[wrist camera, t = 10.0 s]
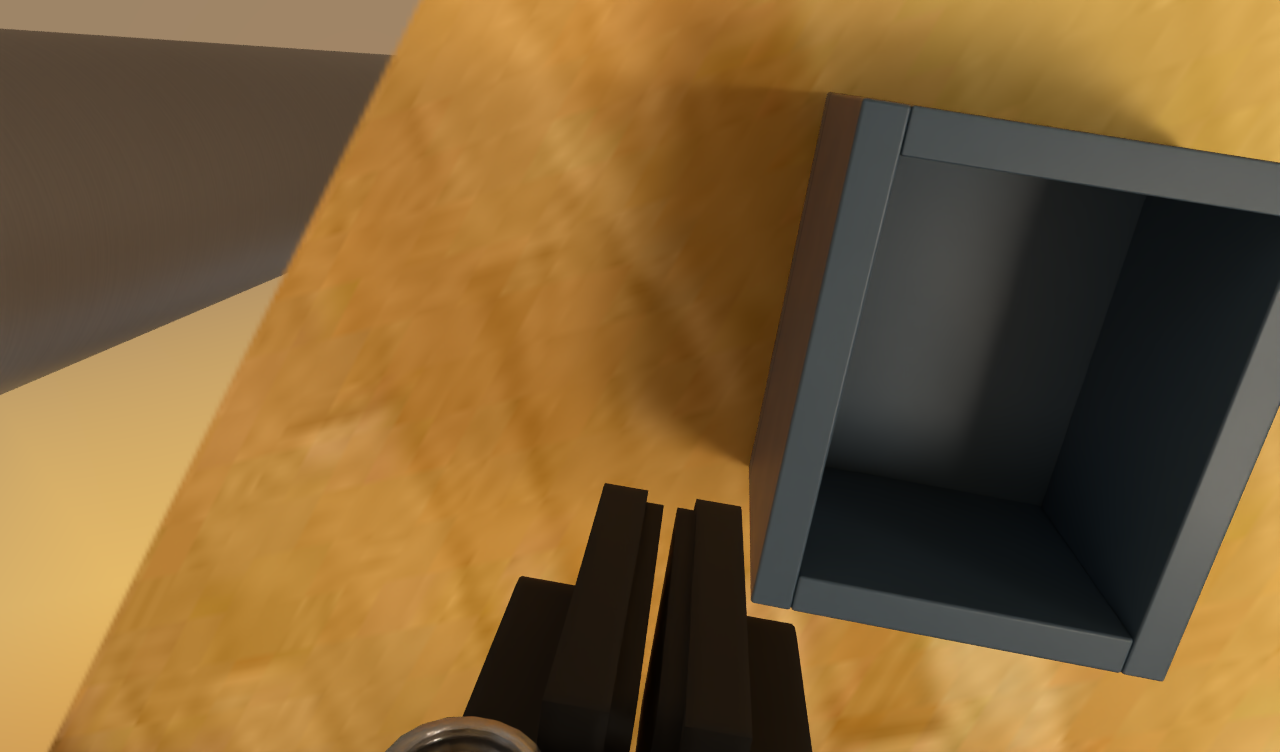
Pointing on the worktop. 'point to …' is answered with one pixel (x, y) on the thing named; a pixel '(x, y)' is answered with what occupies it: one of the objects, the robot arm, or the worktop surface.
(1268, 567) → the worktop surface
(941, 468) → the grey open box
